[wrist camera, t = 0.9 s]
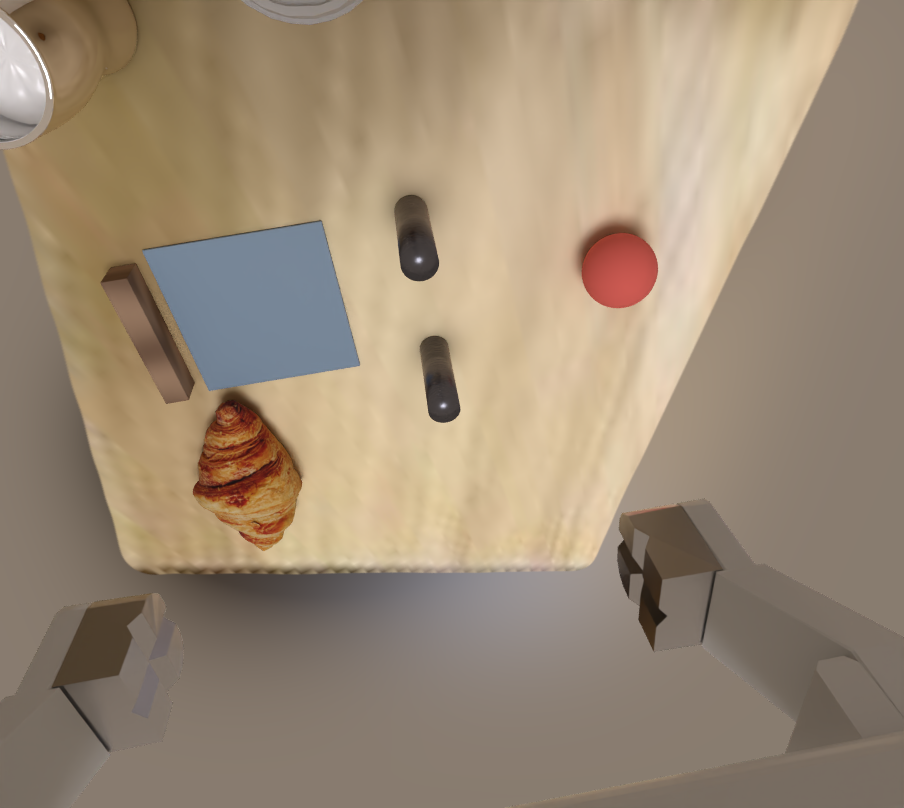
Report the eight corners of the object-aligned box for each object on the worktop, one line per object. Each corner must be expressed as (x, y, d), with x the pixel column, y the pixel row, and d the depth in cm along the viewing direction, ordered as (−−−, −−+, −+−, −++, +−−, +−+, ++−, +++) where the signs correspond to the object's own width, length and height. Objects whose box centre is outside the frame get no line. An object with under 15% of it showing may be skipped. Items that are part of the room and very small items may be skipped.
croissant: (297, 508, 74) (327, 554, 69) (214, 548, 69) (239, 600, 64) (262, 365, 60) (296, 410, 55) (154, 403, 55) (181, 456, 50)
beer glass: (4, 29, 38) (-148, 85, 27) (45, -80, 35) (-106, -69, 24) (118, 105, 42) (27, 184, 30) (165, 11, 39) (83, 60, 27)
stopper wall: (110, 267, 49) (100, 282, 47) (135, 263, 49) (126, 278, 47) (172, 386, 56) (166, 403, 54) (194, 382, 56) (188, 400, 54)
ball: (573, 227, 51) (595, 260, 46) (645, 215, 51) (673, 247, 47) (573, 291, 55) (592, 327, 50) (639, 280, 55) (665, 315, 50)
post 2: (417, 338, 56) (426, 400, 49) (446, 333, 56) (458, 395, 49) (422, 361, 58) (430, 424, 51) (449, 357, 58) (461, 419, 51)
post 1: (391, 198, 48) (397, 249, 41) (425, 192, 48) (436, 242, 41) (397, 229, 49) (403, 284, 43) (429, 224, 50) (441, 277, 43)
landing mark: (142, 249, 48) (142, 250, 48) (321, 220, 48) (321, 221, 48) (209, 389, 57) (209, 390, 57) (359, 364, 57) (359, 365, 57)
